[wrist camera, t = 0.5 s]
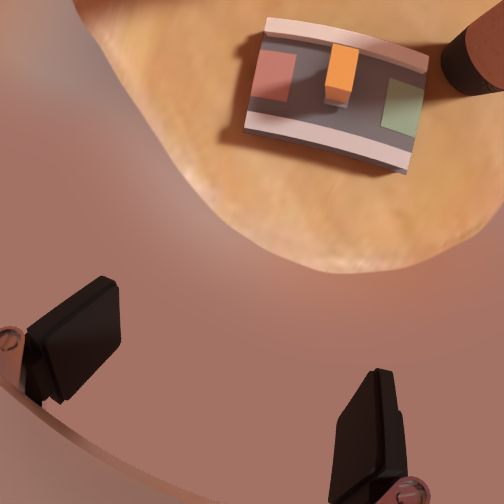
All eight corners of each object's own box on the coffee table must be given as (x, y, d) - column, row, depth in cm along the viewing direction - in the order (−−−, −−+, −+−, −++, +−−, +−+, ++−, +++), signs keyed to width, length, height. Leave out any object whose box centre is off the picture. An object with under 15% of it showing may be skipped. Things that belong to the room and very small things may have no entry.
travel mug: (493, 60, 22) (587, 25, 4) (483, 108, 25) (589, 99, 7) (443, 31, 23) (518, -37, 5) (433, 79, 26) (520, 33, 8)
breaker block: (273, 28, 29) (263, 12, 24) (420, 64, 26) (434, 53, 21) (251, 133, 34) (238, 132, 30) (399, 171, 32) (410, 177, 27)
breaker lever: (331, 66, 26) (331, 38, 18) (354, 71, 26) (362, 46, 17) (323, 104, 28) (321, 89, 19) (346, 110, 27) (353, 97, 19)
